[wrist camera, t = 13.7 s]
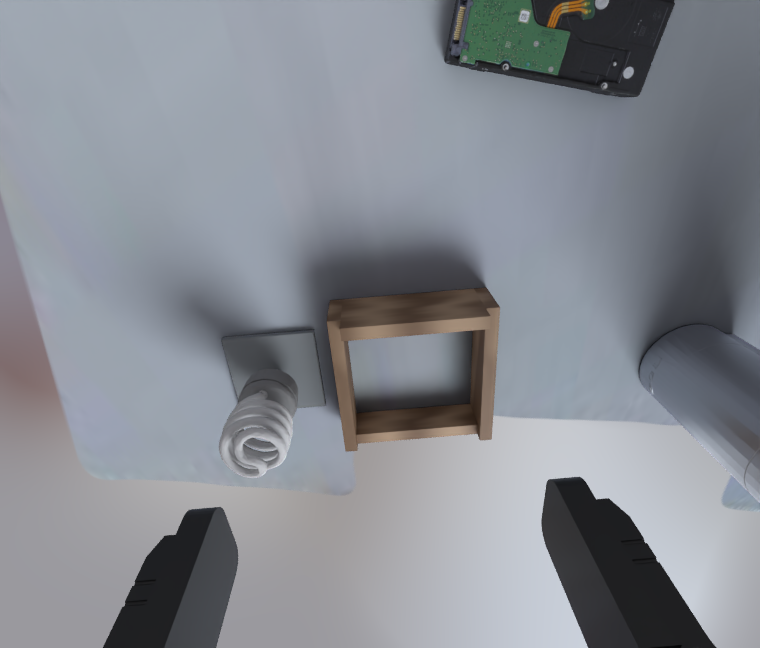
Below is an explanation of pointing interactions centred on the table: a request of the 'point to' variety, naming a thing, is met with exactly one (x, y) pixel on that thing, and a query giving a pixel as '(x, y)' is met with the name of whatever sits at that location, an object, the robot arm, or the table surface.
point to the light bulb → (260, 424)
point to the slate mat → (278, 361)
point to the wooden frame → (409, 319)
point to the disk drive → (561, 41)
